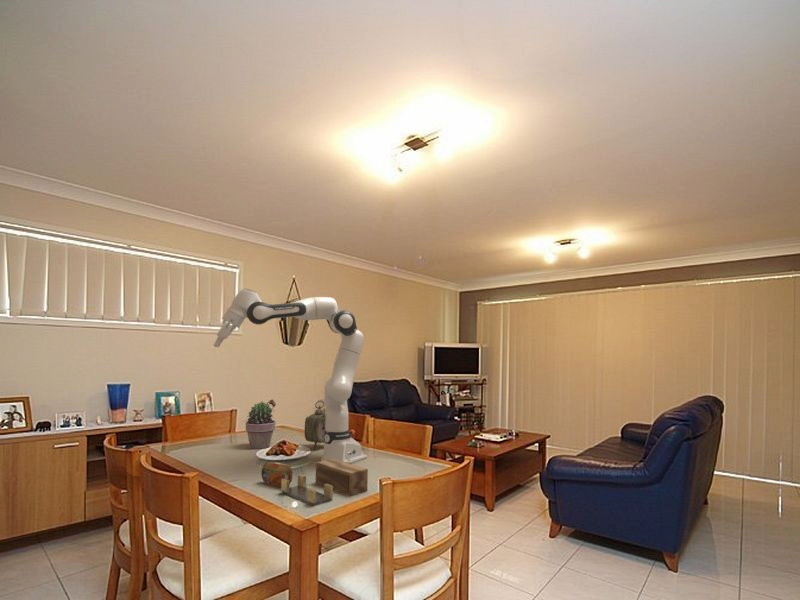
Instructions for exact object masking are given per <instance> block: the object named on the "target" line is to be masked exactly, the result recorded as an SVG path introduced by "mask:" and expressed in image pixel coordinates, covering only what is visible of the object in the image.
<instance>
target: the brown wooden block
mask: <svg viewBox="0 0 800 600" xmlns="http://www.w3.org/2000/svg"><path fill="white" fill-rule="evenodd" d="M368 472H369V471H368V468H365V467H362V466H359V465H355V464H353V463H350V464H349V463H345V462H341V461H338V460H334V459H329V460H324V461H316V462H315V481H314V482H315V484H317V485H320V486H323V487H324V484H330V485H332V486H333V491H337V492H340V493H343V494H345V495H349V496H354V495H359V494H361V493H364V492H367V491H368V478H369V477H368V474H369V473H368Z"/></svg>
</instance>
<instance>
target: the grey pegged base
mask: <svg viewBox="0 0 800 600" xmlns="http://www.w3.org/2000/svg"><path fill="white" fill-rule="evenodd" d="M306 476H307V475H303V474H298V475H297V485H296V486H292V487H290V484H291V483H290V480H287V479H285V478H284V479H282V483H281V487H280V488H281V489H280V491H281V494H283V495H286V496H289V497H291V498H293V499H295V500H298V501H300V502H302V503H306V504H308V505H310V506H312V507H315V506H319V505H321V504H324V503H328V502H331V501H333V496H334V495H333V494H334V493H333V491H334V489H333V486H332V485H330V484H324V486H323V493H322V492H318V491H317V490H316V489H314V488H311V487H310V488H308V487H306V486H307V485H306V484H307V477H306Z"/></svg>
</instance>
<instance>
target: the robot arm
mask: <svg viewBox="0 0 800 600" xmlns="http://www.w3.org/2000/svg"><path fill="white" fill-rule="evenodd" d="M338 307H339V306H338V303H337V301H336V299H335V298H333V297H329V296H313V297H306V298H302V299H299V300H296V301H294V302H289V303H278V304H275V303H274V304H269V303H267V302H263V301H262V300H261V297H260V296H259V294H258V292H257V291H254V290H252V289H249V288H242V289H241V290H240V291H238V293H237V294H236V296H234V298H233V300H232V301H231V304H230V306H229V307H228V308H227V309H226V310H225V313H224V314H223V315H222V318H221V319H222V320H223V321H222V322H221V323H222V326H221V328H220V329H219V331H217V334H216V335H217V338H216V340H215V342H214V343H213V347H214V348H219V347H220V346H221V344H222V343H223V341H224V340H227V339H228V338H229V336H230V335H231V334H232V333H233V331H235V330H236V329H237V328H238V329H240V327H241V326H242V324H243V323H244V321H245V319H248V320H249V322H251V323H252V324H254V325H264V324H265V323H267V322H269V321H271V320H273V319H281V318H295V319H298V320H301V321H302V320H303V321H316V320H326V322H327V324H328V327H329V329H330V330H331V331H332V332H333V333H335V334H340V337H341V340H340V344H339V347H338V350H337V354H336V356H335V360H334V364H333V368H332V374H331V377H330V378H328V380H327V381H326V382H325V385H324V392H323V393H324V407H325V409H324V410H325V411H324V413H325V414H326V420H325V431H324V441H325V442H324V446H323V451H322V455H321V461H324V460H329V459H334V460H338V461H341V462H345V463H350V464H353V463H356V462H358V461H361V460H363V459H367V455H366V454H365V453H363V450H362V446H361V444H360V443H359V442H358V441H356V440H355V439H354V438H353V437H352V435H355V434H356V432H355V430H353V429H351V430H350V429H349V413H350V412H349V407H348V406H349V405H348V399H350V397H351V395H352V390H353V385H354V381H355V375H356V371H357V367H358V363H359V361H360V358H361V357H360V356H361V354H362V350H363V346H364V339H365V338H364V334H363V333H362V331H360V330H358V326H357V322H356V318H355V315H354V314H353V313H352V312H351V311H349V310H340V309H339V308H338Z"/></svg>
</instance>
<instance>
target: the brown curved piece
mask: <svg viewBox="0 0 800 600" xmlns="http://www.w3.org/2000/svg"><path fill="white" fill-rule="evenodd" d="M261 478H262V481H263V482H264V483H265V484H266V485H269V486H273V487H278V488H281V483H282V479H284V478H285V479H287V480H290V484H291V483H292V480H293V470H292V467H291V466H290V465H289V464H287V463H282V462H275V461H269V462H266V463H264V465H263V466H262V469H261Z"/></svg>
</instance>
